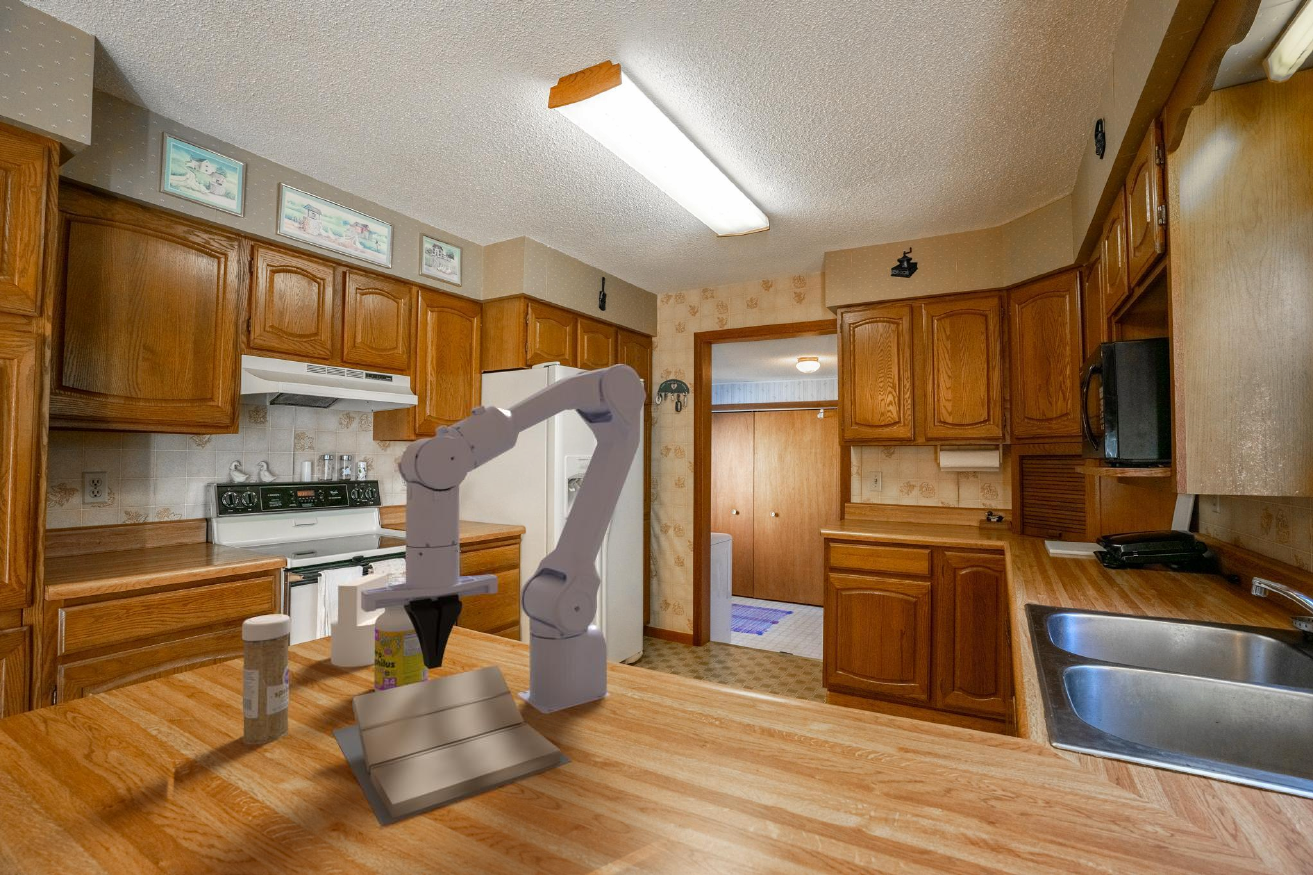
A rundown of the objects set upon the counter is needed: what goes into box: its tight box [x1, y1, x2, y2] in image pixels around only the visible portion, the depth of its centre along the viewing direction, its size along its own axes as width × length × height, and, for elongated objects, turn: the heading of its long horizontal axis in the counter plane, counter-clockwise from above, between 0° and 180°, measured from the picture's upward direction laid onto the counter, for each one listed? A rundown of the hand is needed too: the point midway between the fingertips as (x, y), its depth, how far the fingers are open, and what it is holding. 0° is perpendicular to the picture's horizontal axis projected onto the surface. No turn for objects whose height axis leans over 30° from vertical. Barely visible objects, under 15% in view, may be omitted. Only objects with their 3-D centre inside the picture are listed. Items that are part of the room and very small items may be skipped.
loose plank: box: [351, 664, 525, 773], centre depth 68 cm, size 16×8×1 cm, turn 127°
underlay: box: [331, 724, 572, 827], centre depth 67 cm, size 18×22×1 cm
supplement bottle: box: [373, 605, 429, 692], centre depth 84 cm, size 7×7×13 cm
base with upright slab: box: [330, 573, 388, 668], centre depth 98 cm, size 9×9×12 cm
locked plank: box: [371, 722, 561, 818], centre depth 61 cm, size 16×8×1 cm, turn 127°
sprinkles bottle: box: [241, 613, 291, 745], centre depth 70 cm, size 5×5×14 cm
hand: (432, 665), depth 70 cm, fingers closed
